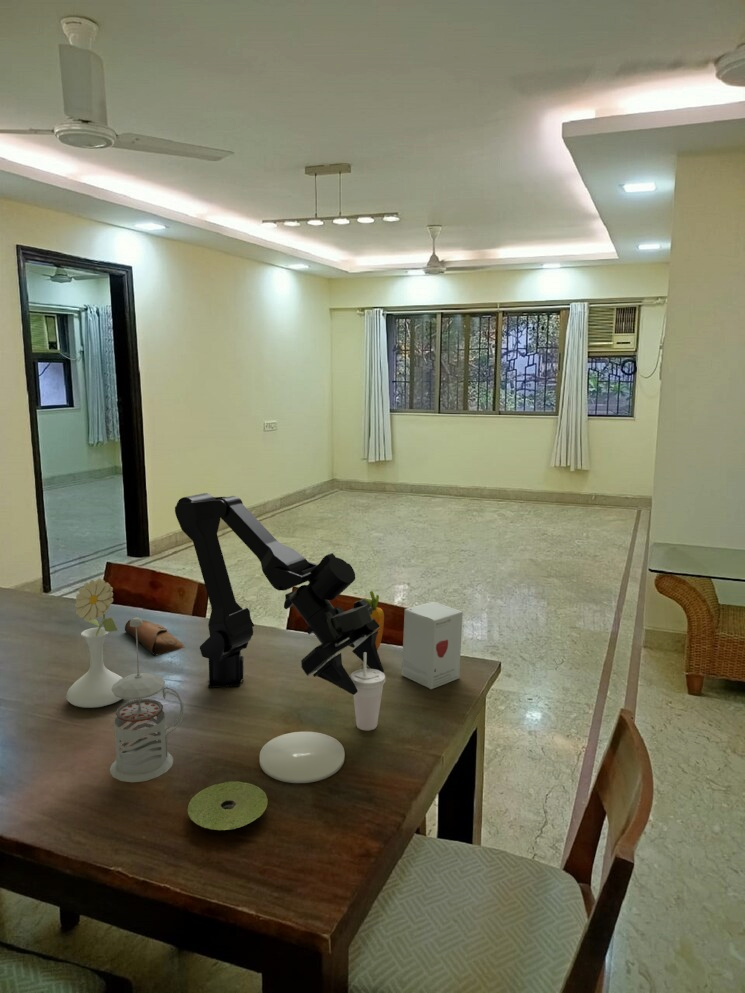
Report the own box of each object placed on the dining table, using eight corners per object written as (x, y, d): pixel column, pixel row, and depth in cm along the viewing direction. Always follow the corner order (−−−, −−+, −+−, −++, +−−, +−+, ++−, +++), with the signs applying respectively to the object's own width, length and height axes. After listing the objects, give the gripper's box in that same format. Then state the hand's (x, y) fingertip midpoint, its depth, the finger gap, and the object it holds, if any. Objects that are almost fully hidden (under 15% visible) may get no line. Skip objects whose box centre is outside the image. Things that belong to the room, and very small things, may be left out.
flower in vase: (56, 699, 133) (48, 574, 129) (112, 681, 141) (106, 563, 137) (87, 723, 124) (79, 590, 120) (145, 702, 133) (140, 577, 128)
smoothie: (348, 717, 129) (349, 646, 126) (382, 716, 129) (384, 645, 127) (350, 734, 122) (351, 660, 120) (386, 733, 123) (387, 659, 120)
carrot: (381, 661, 154) (382, 597, 151) (359, 659, 155) (360, 595, 152) (385, 653, 158) (386, 590, 156) (364, 650, 159) (365, 588, 157)
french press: (108, 755, 114) (100, 611, 110) (180, 741, 119) (175, 603, 114) (111, 787, 105) (103, 632, 101) (188, 772, 110) (184, 622, 106)
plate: (258, 785, 107) (258, 779, 106) (260, 738, 120) (260, 733, 120) (348, 780, 108) (348, 774, 108) (340, 735, 122) (340, 729, 122)
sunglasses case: (188, 647, 160) (173, 626, 156) (163, 668, 156) (148, 647, 153) (157, 625, 173) (143, 605, 170) (134, 644, 170) (119, 624, 167)
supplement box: (431, 690, 140) (433, 620, 137) (400, 676, 147) (402, 608, 144) (461, 678, 146) (464, 611, 143) (430, 664, 153) (432, 600, 150)
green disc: (264, 840, 94) (264, 827, 94) (181, 843, 93) (180, 830, 93) (270, 791, 105) (270, 779, 105) (195, 793, 104) (195, 781, 104)
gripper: (314, 603, 116) (370, 680, 112) (371, 576, 132) (421, 643, 128) (278, 638, 121) (330, 712, 118) (337, 608, 137) (384, 673, 133)
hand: (369, 683), depth 124 cm, fingers open, 9 cm apart
